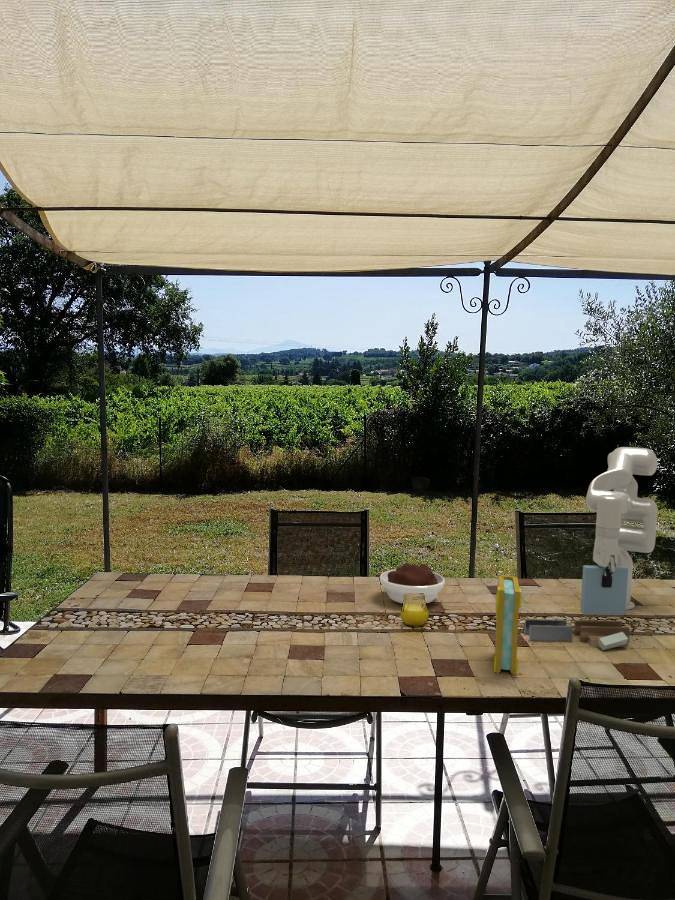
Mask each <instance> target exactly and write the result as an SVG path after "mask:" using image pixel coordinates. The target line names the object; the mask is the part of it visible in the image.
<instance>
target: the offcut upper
mask: <svg viewBox="0 0 675 900" xmlns="http://www.w3.org/2000/svg"><path fill="white" fill-rule="evenodd" d="M627 641H628V638H627V637H626V635H625V634H624V633H623V632H620V633H616V634H613V635H609V636H606V637H602V638H599V640H598V645H599V646H598V647H600V649H601V650H602V651H606V650H609V649H613V648H616V647H617V646H620V645H624V644H626V643H627ZM617 648H618V647H617Z"/></svg>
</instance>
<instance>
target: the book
mask: <svg viewBox="0 0 675 900" xmlns="http://www.w3.org/2000/svg"><path fill="white" fill-rule="evenodd" d="M519 584H520V583H519V579H518V577H517V576H513V575H505V574H503V575H499V576H498V583H497V592H496V595H495V619H496V621H495V623H496V624H495V626H496V627H495V641H494V642H495V643H494V644H495V645H494V657H493V658H494V659H493V661H494V662H493V673H495V672H501V670H506V671H510V672H511V673H514V674H517V675H518V666H519V657H517V653H518V639H519V638H518V637H519V635H518V633H519V618H520V617H519V616H520V615H519V614H520V609H521V607H522V588H520V585H519ZM514 674H513V675H514Z"/></svg>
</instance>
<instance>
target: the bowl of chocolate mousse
mask: <svg viewBox="0 0 675 900" xmlns="http://www.w3.org/2000/svg"><path fill="white" fill-rule="evenodd" d="M379 582H380V584H381V585H382V587H383V588H384V590H385V591H386V593H387V596H388V598H389V599H391V600H392V601H393V602H396V603H398V604H402V603H403V595H404V594H406V593H424V595H425V600H426V603H427V604H429V603H430V604H431V602H434V600H435V598H436V597H437V595H438V594H439V592H440V591H441V590H442V589H443V588H444V586H445V585H446V584H445V582H446V580H445V578H444V576H442V575H441V574H439V573H437V572H434V571H432V569H431V568H430V566H428V564H425V563H423V564H420V565H418V564H417V565H416V564H411V563H409V562H405V563H403V564H401V566H397V567H396V568H395V569H391V570H386V571H384V572H382V573H381V574H380V576H379Z"/></svg>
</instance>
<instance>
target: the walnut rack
mask: <svg viewBox="0 0 675 900" xmlns="http://www.w3.org/2000/svg"><path fill="white" fill-rule="evenodd" d="M630 630H631V629H630V627H629V626H623V621H622V620H599V619H598V620H592V619H590V620H589V619H588V620H587V619H574V625H573V635H574V636H579V642H581V643H588V642H587V639H588V636H609V635H613V634H616V633H620V632H623V633H624V634H625V635H626V637H627V638H628V644H629V642H630Z"/></svg>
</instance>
